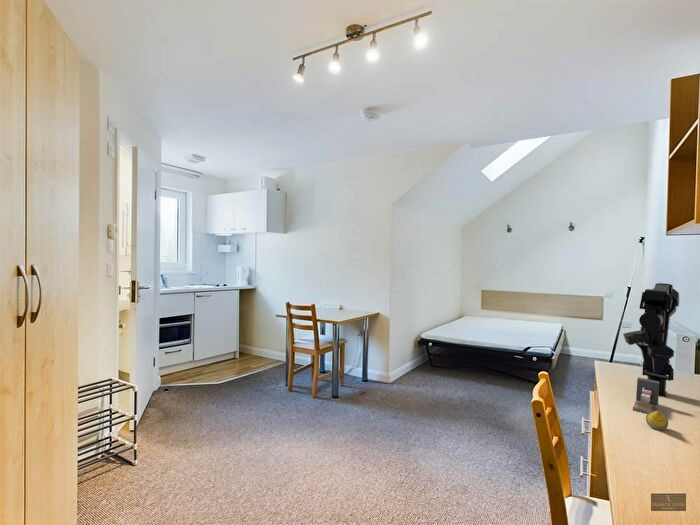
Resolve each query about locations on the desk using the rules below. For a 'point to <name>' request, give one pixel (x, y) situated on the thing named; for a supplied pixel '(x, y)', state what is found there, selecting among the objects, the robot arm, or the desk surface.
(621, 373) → the desk surface
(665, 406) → the desk surface
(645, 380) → the collar
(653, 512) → the desk surface
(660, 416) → the yellow cone
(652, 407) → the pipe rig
